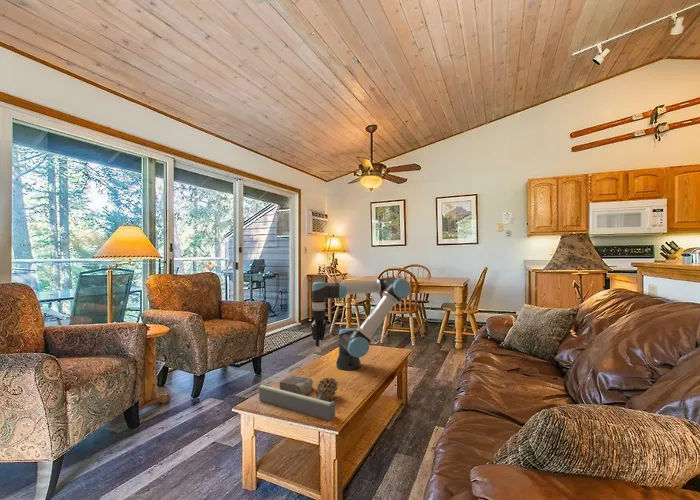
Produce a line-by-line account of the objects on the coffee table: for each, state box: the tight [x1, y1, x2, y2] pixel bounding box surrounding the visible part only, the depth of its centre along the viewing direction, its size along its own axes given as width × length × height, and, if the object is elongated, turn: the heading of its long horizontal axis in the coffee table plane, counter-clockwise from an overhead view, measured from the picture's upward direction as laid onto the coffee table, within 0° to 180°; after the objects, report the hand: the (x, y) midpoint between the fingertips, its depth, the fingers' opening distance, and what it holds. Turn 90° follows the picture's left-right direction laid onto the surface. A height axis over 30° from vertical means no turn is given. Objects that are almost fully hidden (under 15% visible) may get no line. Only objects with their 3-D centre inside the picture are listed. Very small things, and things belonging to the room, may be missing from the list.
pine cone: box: [314, 377, 339, 402], centre depth 152 cm, size 22×10×10 cm, turn 155°
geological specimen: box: [279, 375, 314, 396], centre depth 167 cm, size 11×6×15 cm
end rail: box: [258, 383, 336, 421], centre depth 148 cm, size 5×40×7 cm, turn 60°
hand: (318, 351), depth 183 cm, fingers closed
